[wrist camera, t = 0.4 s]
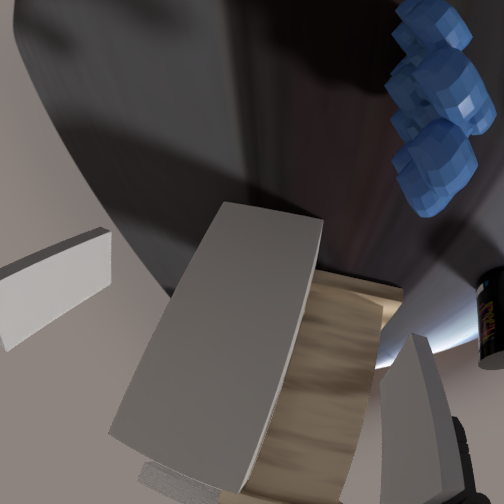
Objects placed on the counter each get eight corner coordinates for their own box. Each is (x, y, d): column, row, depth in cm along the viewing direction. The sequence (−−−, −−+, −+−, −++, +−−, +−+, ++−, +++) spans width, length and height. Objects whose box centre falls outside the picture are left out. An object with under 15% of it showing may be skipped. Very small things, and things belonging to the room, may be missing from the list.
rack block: (223, 201, 31) (107, 433, 17) (323, 219, 29) (237, 494, 14) (232, 246, 38) (147, 438, 23) (315, 264, 35) (247, 479, 20)
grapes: (452, 147, 17) (491, 272, 10) (374, 132, 19) (372, 251, 13) (470, 10, 8) (579, 52, 1) (374, -13, 10) (399, -29, 4)
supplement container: (509, 295, 26) (515, 368, 20) (469, 295, 29) (471, 371, 23) (525, 264, 21) (538, 346, 15) (481, 264, 24) (489, 350, 19)
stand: (299, 265, 36) (210, 516, 18) (403, 288, 33) (343, 544, 15) (295, 302, 44) (226, 499, 26) (380, 320, 41) (327, 522, 23)
